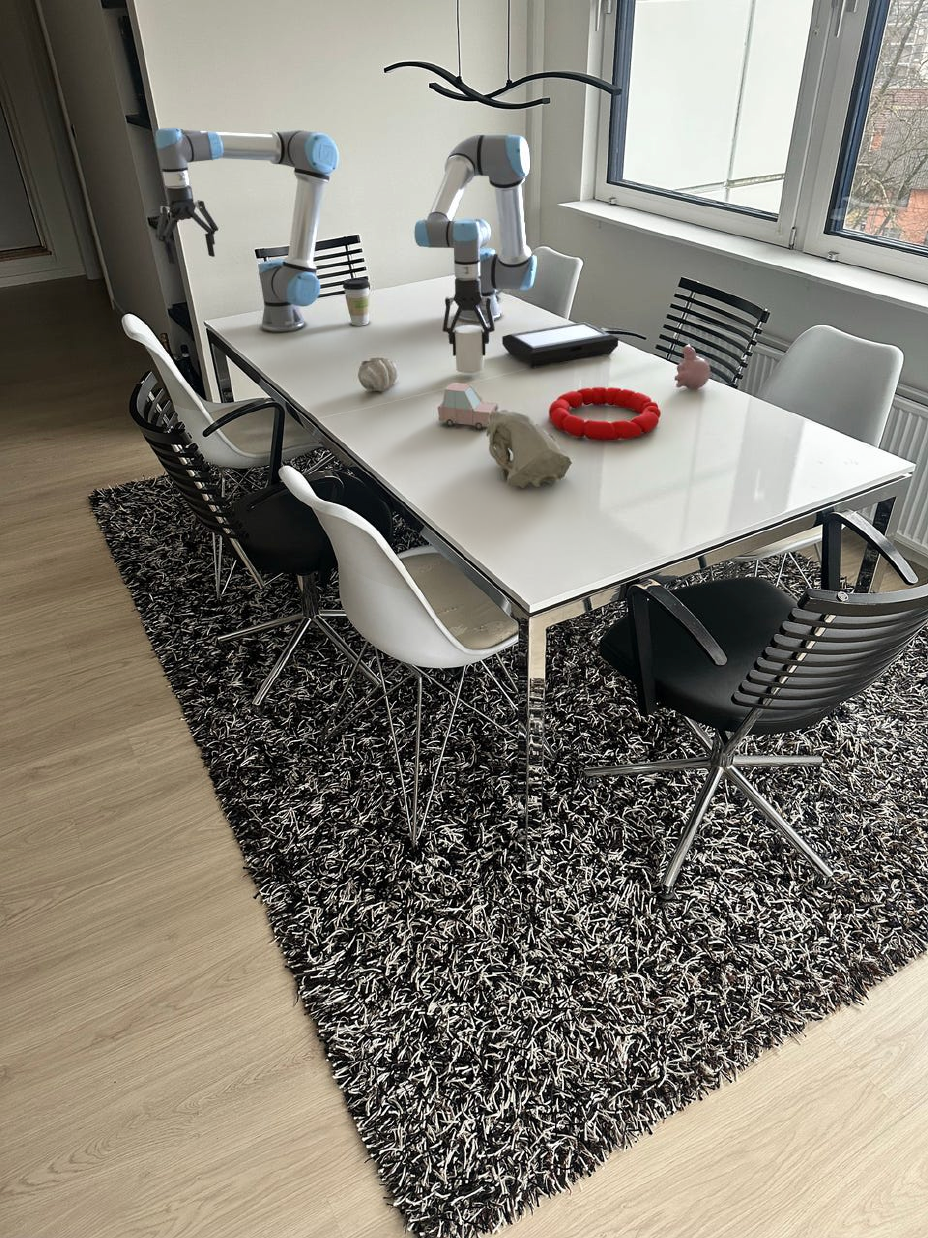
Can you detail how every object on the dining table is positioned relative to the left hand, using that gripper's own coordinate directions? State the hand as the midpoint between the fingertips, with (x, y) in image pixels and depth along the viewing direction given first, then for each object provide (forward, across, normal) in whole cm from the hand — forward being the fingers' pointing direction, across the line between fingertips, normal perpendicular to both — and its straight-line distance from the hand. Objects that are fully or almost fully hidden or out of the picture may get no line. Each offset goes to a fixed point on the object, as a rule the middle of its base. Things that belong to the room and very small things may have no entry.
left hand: (192, 259), depth 282 cm
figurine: (+31, +88, -131) cm, 161 cm away
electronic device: (+31, +84, -82) cm, 121 cm away
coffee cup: (+31, +58, -5) cm, 66 cm away
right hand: (+24, +50, -76) cm, 94 cm away
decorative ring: (+31, +51, -130) cm, 144 cm away
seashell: (+31, +22, -67) cm, 77 cm away
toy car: (+31, +24, -105) cm, 112 cm away
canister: (+29, +50, -76) cm, 95 cm away
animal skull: (+31, +14, -137) cm, 141 cm away
